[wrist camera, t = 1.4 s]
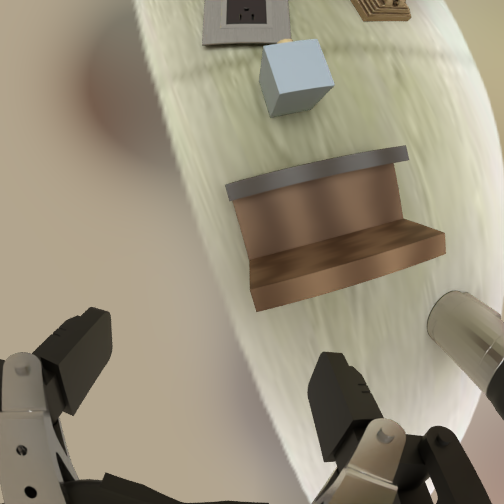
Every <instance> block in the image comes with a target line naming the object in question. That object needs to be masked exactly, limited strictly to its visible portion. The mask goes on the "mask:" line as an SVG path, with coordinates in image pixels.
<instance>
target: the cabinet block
mask: <svg viewBox="0 0 504 504" xmlns="http://www.w3.org/2000/svg"><path fill="white" fill-rule="evenodd" d="M259 83H260V86H261V89H262V92H263V95H264V99H265V102H266V105H267V108H268V112H269V115H270V118H272V117H277V116H281V115H286V114H291V113H296V112H301V111H307V110H311V109H312V108H313V107H314V106H315V105H316V104H317V103H318V102H319V101H320V100H321V99H322V98H323V97H324V95H325V94H326V93H327V92H328V91H329V90H330V89H331V88H332V87H333V86H334V82H333V79H332V76H331V73H330V71H329V68H328V65H327V63H326V60H325V57H324V55H323V52H322V50H321V47H320V45H319V42H318V40H317V39H310V40H301V41H293V40H292V39H283V40H280V41H279V42H277V44H272V45H267V46H263V53H262V61H261V69H260V77H259Z"/></svg>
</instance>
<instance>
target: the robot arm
mask: <svg viewBox="0 0 504 504" xmlns="http://www.w3.org/2000/svg"><path fill="white" fill-rule="evenodd" d="M427 328H428V333H429V335H430V337H431V338H432V339H433V340H434V341H435V342H436V343H437V344H438V345H439V346H440V347H441V348H442V349H443V350H444V351H445V352H446V353H447V354H448V355H449V356H450V357H451V358H452V359H453V361H454V362H455V363H456V364H457V365H458V366H459V367H460V368H461V369H462V370H463V371H464V372H465V373H466V374H467V375H468V377H469V378H470V379H471V380H472V381H473V382H474V383H475V384H476V385H477V386H478V388H479V389H480V390H481V391H482V392H483V393H484V394H485V395H486V397H487V398H488V399H489V400H490V401H491V403H492V404H493V406H494V407H495V409H496V411H497V412H498V413H499V415H500V416H501V417H502V419H503V420H504V322H503V321H502V320H501V315H500V314H499V313H498V312H496V311H495V310H493V309H492V308H490V307H489V306H487V305H486V304H484V303H483V302H481V301H480V300H478V299H477V298H475V297H474V296H472V295H471V294H469V293H468V292H466V293H461V292H459V291H452V292H450V293H447V294H446V295H444V296H443V297H442V298H441V299H440V300H439V301H438V302H437V303H436V305H435V306H434V308H433V310H432V312H431V314H430V316H429V319H428V325H427ZM111 353H112V332H111V315H110V313H109V312H108V311H104V310H101V309H98V308H94V307H90V308H89V309H88V310H87V311H85V313H83V314H82V315H81V316H75V317H73V318H70V319H68V320H66V321H65V322H64V323H63V324H62V325H61V326H60V327H59V329H57V330H56V331H54V332H53V334H52V335H50V336H49V337H48V338H47V339H46V340H45V341H44V342H43V343H42V344H41V345H40V346H39V347H38V348H37V349H36V350H35V351H34V352H33V353H32V354H31V353H26V352H20V353H15V354H13V355H11V356H10V357H8V358H7V359H6V361H5V360H1V359H0V484H1V490H2V494H3V499H4V503H2V504H269V503H254V502H253V503H252V502H238V501H219V502H205V503H183V502H180V501H177V500H175V499H173V498H170V497H168V496H165V495H164V494H161V493H159V492H157V491H155V490H153V489H151V488H149V487H147V486H145V485H143V484H139V483H136V482H132V481H129V480H126V479H123V478H119V477H117V476H114V475H111V474H109V473H105V475H104V478H103V480H91V479H86V480H79V478H78V476H77V474H76V471H75V469H74V467H73V465H72V462H71V459H70V456H69V452H68V449H67V446H66V442H65V438H64V434H63V430H62V426H61V421H60V418H59V416H60V415H61V413H62V411H63V412H66V413H68V414H70V415H72V416H74V414H75V413H76V411H77V409H78V408H79V406H80V404H81V403H82V401H83V400H84V398H85V396H86V395H87V393H88V392H89V390H90V388H91V387H92V385H93V384H94V382H95V381H96V379H97V377H98V376H99V374H100V373H101V371H102V370H103V368H104V367H105V365H106V364H107V362H108V361H109V359H110V356H111ZM308 399H309V403H310V407H311V411H312V415H313V419H314V423H315V427H316V431H317V435H318V439H319V443H320V447H321V451H322V456H323V460H324V462H334V461H336V464H337V467H336V469H335V470H334V471H333V473H332V474H331V476H330V477H329V479H328V481H327V482H326V484H325V485H324V487H323V488H322V489H321V491H320V492H319V494H318V495H317V497H316V498H315V499H314V501H313V502H312V504H433V502H432V499H431V496H430V493H429V491H428V488H427V486H426V483H425V481H426V480H427V479H428V478H429V477H431V480H432V482H433V485H434V487H435V489H436V492H437V495H438V500H437V503H436V504H492V503H491V501H490V499H489V497H488V495H487V493H486V490H485V488H484V487H483V484H482V483H481V480H480V479H479V477H478V475H477V473H476V471H475V469H474V467H473V465H472V464H471V462H470V460H469V458H468V456H467V455H466V453H465V451H464V449H463V447H462V446H461V444H460V442H459V440H458V439H457V437H456V435H455V434H454V433H453V432H452V431H451V430H449V429H448V428H446V427H443V426H434V427H431V428H430V429H429V430H428V431H427V433H426V434H425V435H424V436H417V435H408V434H405V431H404V429H403V428H402V427H401V426H400V425H399V424H398V423H396V422H395V421H392V420H390V419H385V418H384V417H383V415H382V413H381V411H380V409H379V407H378V405H377V403H376V401H375V399H374V398H373V396H372V394H371V393H370V390H369V388H368V386H366V382H365V380H364V378H363V376H362V375H361V374H360V373H359V372H358V371H357V370H356V369H355V368H354V367H353V366H349V365H348V363H347V361H346V359H345V357H344V355H343V354H342V353H333V352H322V353H321V355H320V357H319V359H318V362H317V364H316V367H315V369H314V372H313V374H312V377H311V379H310V382H309V385H308Z"/></svg>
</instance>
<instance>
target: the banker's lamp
mask: <svg viewBox="0 0 504 504" xmlns="http://www.w3.org/2000/svg"><path fill="white" fill-rule="evenodd" d="M405 1H406V0H351V2H352V3H353V5H354V6H355V8H356V10H357V11H358V13H359V15H360V16H361V18H362V20H363V21H408V20H409V19H410V18H411V14H410V9H409V7H408V6H407V4H406V3H405Z"/></svg>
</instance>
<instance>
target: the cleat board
mask: <svg viewBox="0 0 504 504" xmlns="http://www.w3.org/2000/svg"><path fill="white" fill-rule="evenodd" d="M407 160H409V157H408V152H407V148H406V145H405V146H398V147H392V148H385V149H379V150H373V151H367V152H362V153H356V154H351V155H346V156H341V157H336V158H331V159H326V160H322V161H317V162H312V163H308V164H303V165H299V166H295V167H291V168H286V169H282V170H278V171H274V172H270V173H266V174H262V175H258V176H255V177H251V178H247V179H243V180H240V181H236V182H233V183H229V184H226V185H225V187H226V190H227V194H228V197H229V201H232V200H233V204H234V208H235V211H236V215H237V218H238V222H239V225H240V229H241V232H242V236H243V239H244V243H245V246H246V250H247V253H248V257H249V266H250V292H251V295H252V298H253V302H254V305H255V308H256V312H259V311H263V310H267V309H271V308H274V307H278V306H282V305H286V304H290V303H293V302H297V301H301V300H304V299H308V298H312V297H315V296H319V295H322V294H326V293H329V292H333V291H336V290H339V289H343V288H346V287H349V286H353V285H356V284H359V283H362V282H365V281H369V280H372V279H375V278H378V277H381V276H384V275H387V274H390V273H393V272H396V271H399V270H402V269H405V268H408V267H411V266H413V265H416V264H419V263H422V262H425V261H428V260H430V259H433V258H436V257H438V256H441V255H444V254H446V247H445V233H444V232H441V231H438V230H435V229H432V228H429V227H427V226H424V225H421V224H418V223H415V222H412V221H409V220H406V219H403V214H402V207H401V201H400V195H399V189H398V184H397V178H396V173H395V168H394V164H393V163H396V162H401V161H407Z"/></svg>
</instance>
